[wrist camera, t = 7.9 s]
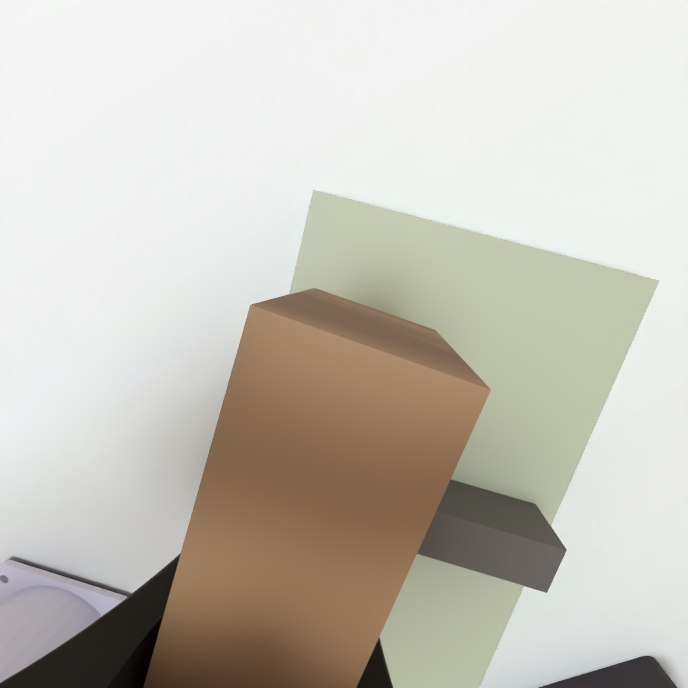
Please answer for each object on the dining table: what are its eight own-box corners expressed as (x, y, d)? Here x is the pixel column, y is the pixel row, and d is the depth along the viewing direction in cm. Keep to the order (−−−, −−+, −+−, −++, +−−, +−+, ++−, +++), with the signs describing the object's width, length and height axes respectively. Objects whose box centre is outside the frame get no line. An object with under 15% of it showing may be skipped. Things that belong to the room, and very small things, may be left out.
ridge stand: (461, 688, 20) (481, 788, 16) (221, 613, 21) (184, 692, 17) (637, 279, 15) (725, 282, 12) (318, 195, 16) (298, 171, 12)
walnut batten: (269, 745, 13) (203, 1025, 8) (180, 711, 13) (64, 968, 8) (435, 329, 10) (491, 389, 5) (314, 288, 10) (250, 304, 5)
